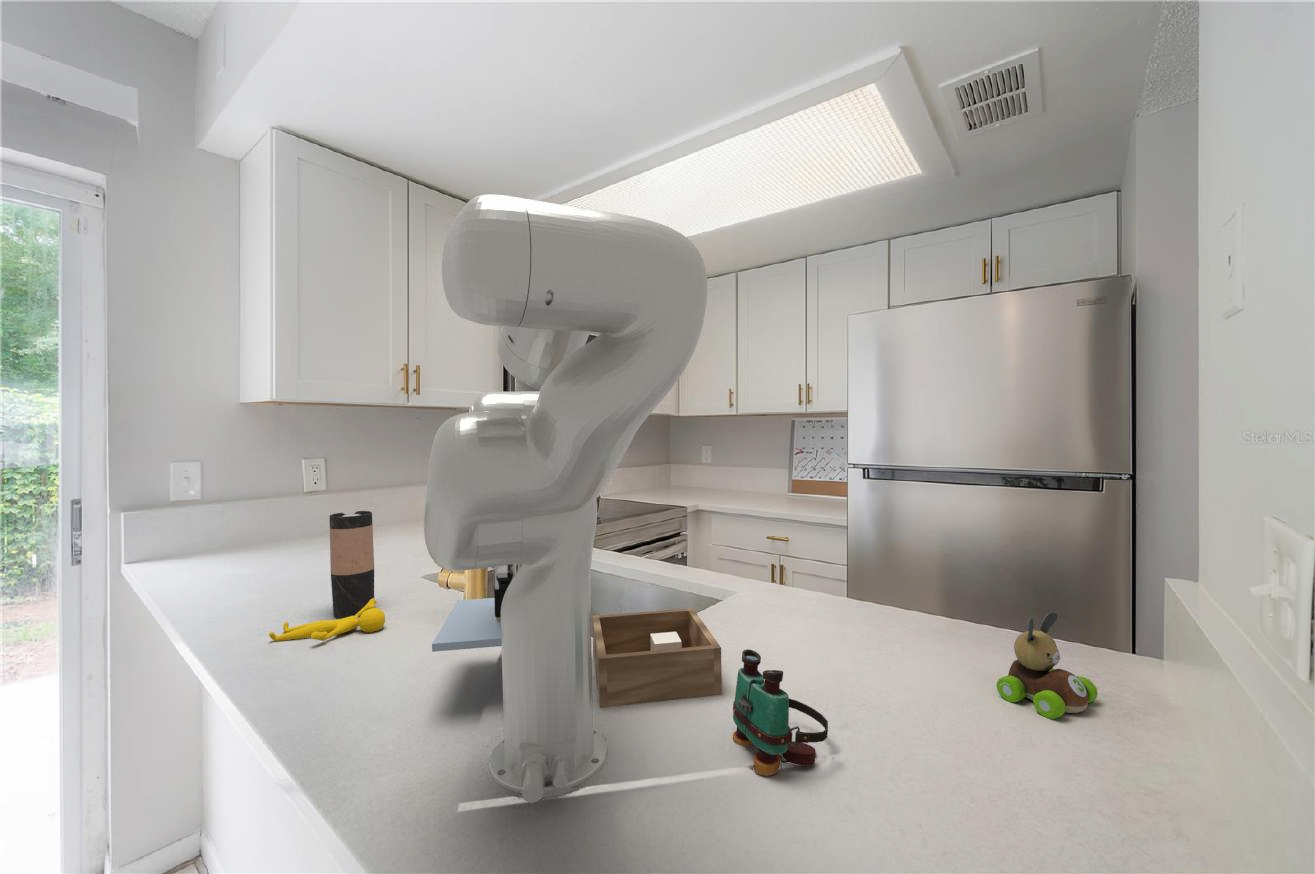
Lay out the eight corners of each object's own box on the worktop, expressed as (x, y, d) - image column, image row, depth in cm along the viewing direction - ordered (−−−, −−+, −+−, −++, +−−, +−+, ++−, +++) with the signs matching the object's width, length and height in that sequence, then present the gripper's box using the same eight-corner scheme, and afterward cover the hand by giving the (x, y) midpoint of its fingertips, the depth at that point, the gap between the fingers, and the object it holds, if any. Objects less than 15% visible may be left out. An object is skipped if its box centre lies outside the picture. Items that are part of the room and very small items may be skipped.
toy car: (1064, 727, 65) (1063, 633, 64) (990, 695, 72) (989, 611, 72) (1104, 707, 69) (1104, 619, 69) (1030, 679, 77) (1029, 599, 76)
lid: (569, 640, 71) (568, 587, 71) (432, 651, 69) (430, 596, 68) (568, 598, 88) (567, 555, 88) (458, 606, 85) (456, 562, 85)
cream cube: (682, 669, 80) (681, 641, 80) (655, 671, 79) (654, 644, 79) (676, 657, 84) (676, 631, 84) (650, 660, 83) (650, 633, 83)
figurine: (294, 609, 104) (394, 594, 107) (297, 633, 105) (397, 617, 107) (253, 636, 91) (369, 618, 94) (257, 663, 91) (372, 644, 94)
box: (722, 700, 72) (721, 647, 72) (600, 713, 70) (598, 658, 69) (693, 651, 88) (692, 608, 88) (593, 660, 85) (592, 616, 85)
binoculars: (845, 672, 58) (764, 679, 55) (838, 771, 58) (756, 785, 55) (796, 641, 67) (723, 646, 63) (789, 728, 67) (716, 738, 63)
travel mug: (356, 620, 106) (353, 517, 105) (322, 618, 107) (319, 516, 107) (384, 607, 113) (381, 510, 113) (351, 606, 115) (348, 510, 114)
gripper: (528, 489, 70) (532, 631, 71) (535, 476, 87) (538, 592, 87) (467, 491, 69) (471, 635, 70) (486, 478, 85) (488, 595, 86)
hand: (508, 610), depth 78 cm, fingers closed on lid, 3 cm apart
